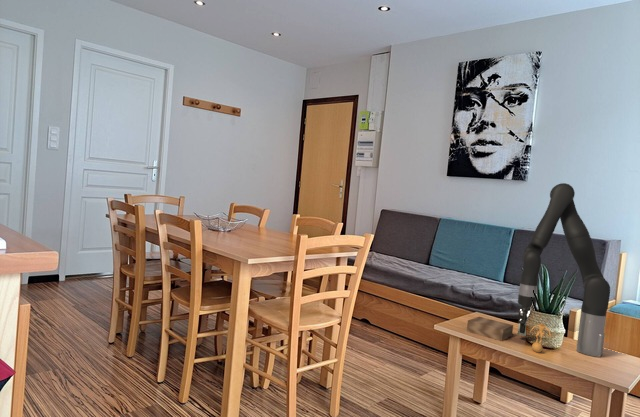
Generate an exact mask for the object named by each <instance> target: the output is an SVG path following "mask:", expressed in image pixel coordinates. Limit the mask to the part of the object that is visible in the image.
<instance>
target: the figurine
mask: <svg viewBox="0 0 640 417" xmlns="http://www.w3.org/2000/svg"><path fill="white" fill-rule="evenodd" d="M535 328H538V329H539V330H537V332H536V333H535V334H536V335H535V336H536V341H535V342H534V343H532V345H531V350H532V351H533V352H535V353H541V352H542V351H543V349H544V348H543V345H542V341H543V338H544V335H545V332H544V331H545V329H546V330H547V332H548V334H549V338H551V337H552V335H551V330H550V328H548V327H547V326H546V325H545V324H544V323H542V322H541V323H540V324H536V325H534V326H533V327H531V328H530V333H531V332H532V331H533V330H534V329H535ZM539 336H540V340H539ZM538 341H539V342H538Z"/></svg>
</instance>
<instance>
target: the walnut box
mask: <svg viewBox="0 0 640 417" xmlns="http://www.w3.org/2000/svg"><path fill="white" fill-rule="evenodd" d="M466 326H467V327H466V332H469V333H472V334H476V335H479V336H483V337H487V338H489V339H493V340H496V341H501V342H503V341H505V340H506V339H508V338H510V337H513V330H514V324H510V323H506V322H502V321H499V320H495V319H490V318H487V317H483V316H477V317H473V318H471V319H468V320H467V325H466Z"/></svg>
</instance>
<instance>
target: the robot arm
mask: <svg viewBox="0 0 640 417" xmlns="http://www.w3.org/2000/svg"><path fill="white" fill-rule="evenodd" d="M549 192H550V193H549V197H550V200H549V203H548V206H547V208H546V210H545V213H544V214H543V216H542V218H541V219H540V221H539V223H538V224H537V226H536V228H535V230H534V232H533V234H532V236H531V238H530V241H529V243H528V244H527V246H526V248H525V249H524V251H523V253H522V256H521V260H522V263H523V267H522V269H523V270H522V272H521V275H520V282H519V287H518V288H519V289H518V296H517V304H518V305H521V308H519V309H520V310H518V324H519V323H520V331H519V332H520V333H525V328H526V322H527V320H528V318H529V314H530V307H531V305H532V300H533V302H534V305H535V307H536V306H537V300H536V298H535V296H534V294H533V290H534V293H535V294H537V295H538V282H539V274H540V269H541V263H542V257H541V255H542V253H543V252H544V249H545V248H546V247H547V246H548V244H549V242H550V240H551V238H552V236H553V234H554V231H555V230H556V227H557V225H558V223H559V221H560V223H561V226H562V230H563V234H564V237H565V239H566V243H567V245H568V248H569V251H570V252H571V254H572V256H573V259H574V261H575V262H576V264H577V266H578V269H579V272H580V276H581V280H582V284H583V289H584V291H583V298H582V305H581V308H580V309H581V310H580V317H579V318H580V319H579V323H578V324H579V326H578V331H577V332H578V333H577V341H576V342H577V343H576V351H577V352H579V353H580V354H582V355H586V356H590V357H591V356H592V357H597V358H601V356H603V352H604V345H605V344H604V343H605V336H606V335H605V327H606V319H607V312H608V309H609V302H610V294H611V286H610V284H609V282H608V280H606V278H605V277H604V275H603V273H602V271H601V268H600V266H599V264H598V261H597V257H596V251H595V248H594V244H593V241H592V237H591V235H590V232H589V230H588V228H587V226H586V224H585V223H584V221H583V220H582V219H583V218H581V216H580V215H579V213H578V210H577V208H576V204H575V201H574V199H575V190H574V188H573V186H572V185H571V184H568V183H564V182H562V183H561V182H560V183H559V184H556V185H554V186H553V187H552V188H551V189H550V191H549ZM529 283H530V284H529ZM531 297H532V298H531ZM531 308H532V307H531ZM522 319H523V321H522Z"/></svg>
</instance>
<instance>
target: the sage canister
mask: <svg viewBox="0 0 640 417" xmlns="http://www.w3.org/2000/svg"><path fill="white" fill-rule="evenodd" d="M522 321H523V319H522ZM519 331H520V323H518V327H517V334H518V335H519V336H524V337H527V336H526V328H525V333H520V332H519Z"/></svg>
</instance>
